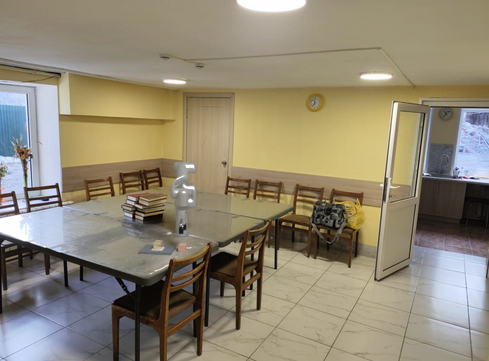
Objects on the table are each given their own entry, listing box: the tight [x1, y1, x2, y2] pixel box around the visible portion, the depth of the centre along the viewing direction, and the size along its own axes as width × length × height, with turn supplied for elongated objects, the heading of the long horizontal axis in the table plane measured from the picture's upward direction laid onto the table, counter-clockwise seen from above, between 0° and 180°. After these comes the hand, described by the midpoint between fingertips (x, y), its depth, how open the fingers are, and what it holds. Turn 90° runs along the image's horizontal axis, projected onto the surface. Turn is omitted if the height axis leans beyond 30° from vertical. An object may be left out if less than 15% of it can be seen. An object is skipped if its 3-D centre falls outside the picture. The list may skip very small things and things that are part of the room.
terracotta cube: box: [177, 242, 188, 253], centre depth 237 cm, size 5×5×5 cm
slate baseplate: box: [138, 243, 177, 256], centre depth 237 cm, size 15×22×2 cm
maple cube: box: [152, 239, 164, 250], centre depth 236 cm, size 5×5×5 cm
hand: (182, 231), depth 235 cm, fingers open, 9 cm apart
